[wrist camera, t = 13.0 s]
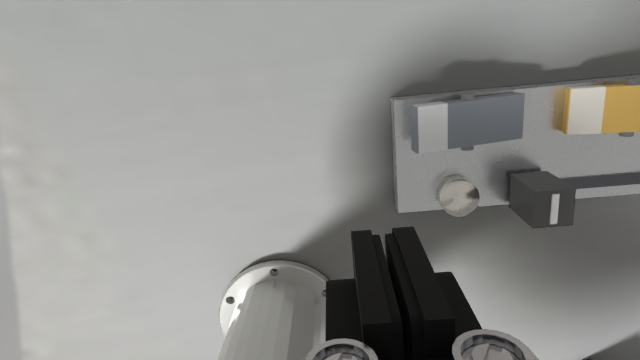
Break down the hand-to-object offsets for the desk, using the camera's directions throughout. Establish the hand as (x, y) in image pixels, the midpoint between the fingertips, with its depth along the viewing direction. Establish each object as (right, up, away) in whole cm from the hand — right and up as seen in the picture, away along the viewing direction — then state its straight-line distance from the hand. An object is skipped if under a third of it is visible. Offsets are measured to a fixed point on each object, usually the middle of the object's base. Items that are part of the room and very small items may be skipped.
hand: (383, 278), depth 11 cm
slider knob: (+16, +2, +25) cm, 30 cm away
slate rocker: (+10, +7, +22) cm, 25 cm away
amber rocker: (+22, +8, +22) cm, 32 cm away
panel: (+17, +6, +26) cm, 32 cm away
